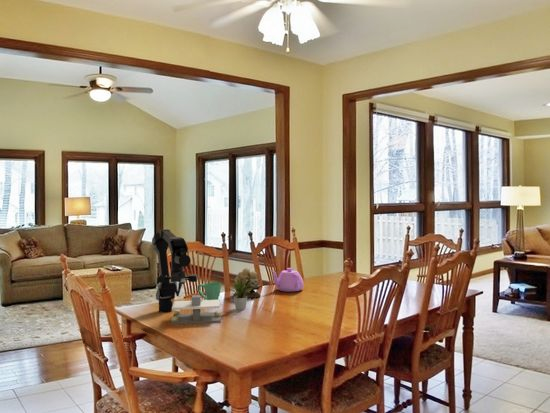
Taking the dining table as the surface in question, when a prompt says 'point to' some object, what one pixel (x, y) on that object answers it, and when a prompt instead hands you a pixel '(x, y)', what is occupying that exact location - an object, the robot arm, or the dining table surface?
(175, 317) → the stand
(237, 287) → the house plant
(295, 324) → the dining table surface
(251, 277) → the bushy plant
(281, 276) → the teapot
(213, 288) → the mug
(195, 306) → the deck
